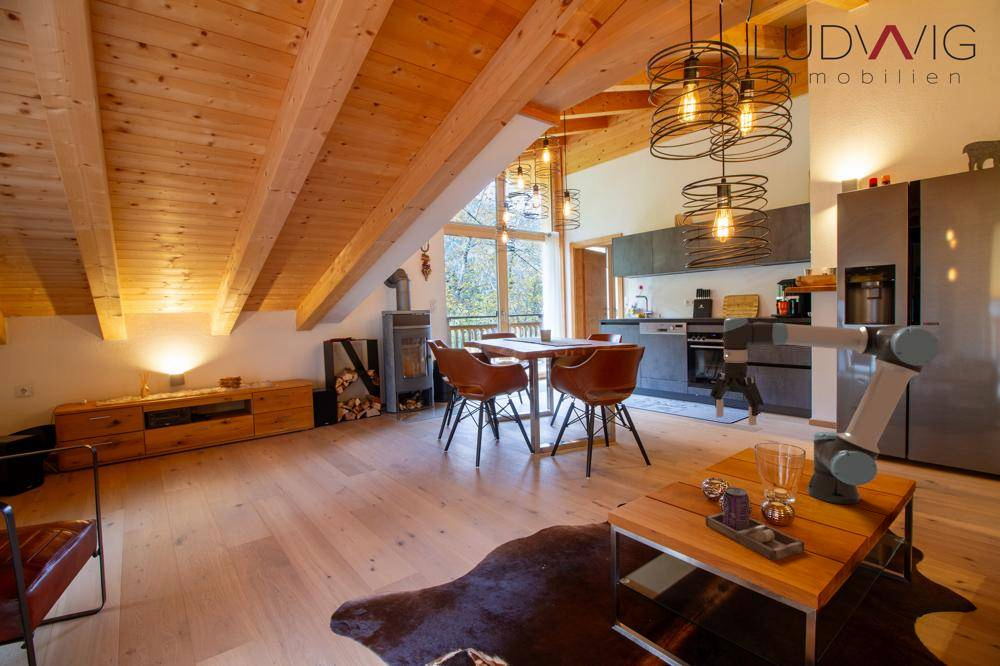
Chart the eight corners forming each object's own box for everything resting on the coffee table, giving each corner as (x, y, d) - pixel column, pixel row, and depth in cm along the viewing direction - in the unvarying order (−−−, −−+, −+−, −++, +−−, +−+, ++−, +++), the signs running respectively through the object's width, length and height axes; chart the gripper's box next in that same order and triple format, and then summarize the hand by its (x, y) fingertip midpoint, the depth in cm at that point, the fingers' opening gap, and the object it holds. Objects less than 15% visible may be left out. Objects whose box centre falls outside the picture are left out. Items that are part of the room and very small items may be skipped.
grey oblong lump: (774, 542, 132) (765, 536, 135) (775, 532, 132) (766, 527, 135) (757, 547, 130) (748, 541, 132) (758, 537, 129) (748, 532, 132)
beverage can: (726, 521, 145) (726, 484, 145) (751, 528, 141) (751, 489, 140) (720, 530, 140) (720, 491, 139) (746, 537, 135) (746, 497, 135)
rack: (733, 520, 148) (733, 510, 148) (803, 554, 127) (804, 542, 127) (705, 527, 144) (705, 516, 144) (773, 564, 122) (773, 551, 122)
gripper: (699, 359, 172) (700, 415, 173) (759, 365, 149) (759, 429, 150) (714, 358, 175) (715, 412, 176) (775, 364, 152) (775, 427, 153)
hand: (735, 420), depth 163 cm, fingers open, 13 cm apart
